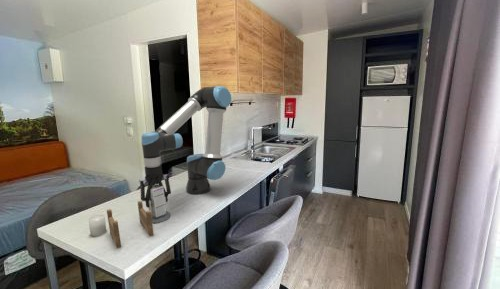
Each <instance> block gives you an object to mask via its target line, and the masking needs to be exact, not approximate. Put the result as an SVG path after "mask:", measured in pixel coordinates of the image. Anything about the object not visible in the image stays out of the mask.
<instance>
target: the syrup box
mask: <svg viewBox="0 0 500 289" xmlns="http://www.w3.org/2000/svg"><path fill="white" fill-rule="evenodd" d="M163 186H164V185H163ZM163 186H160V185H159V184H155V185H153V187H152V189H150V190H151V194H150V198H149V200H150V201H151V207H152V214H151V215H152V216H154V217H159V216H162V215H164V214H166V210H167V209H166V207H167V206H166V207H165V198H164V188H165V187H164V188H163ZM147 188H148V186H147V187H146V189H147Z"/></svg>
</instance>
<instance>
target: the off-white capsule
mask: <svg viewBox="0 0 500 289" xmlns="http://www.w3.org/2000/svg"><path fill="white" fill-rule="evenodd" d="M88 226H89V234H90V236H91V237H101V236H103V235H104V234H106V233H107V224H106V216H105V215H104V214H97V215H93V216H91V217H89V218H88Z"/></svg>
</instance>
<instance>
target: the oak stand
mask: <svg viewBox="0 0 500 289" xmlns="http://www.w3.org/2000/svg"><path fill="white" fill-rule="evenodd" d="M137 206H138V207H137V208H138V216H139V224H140V225H141V227H142V228H143V230H144V231H145V232H146V234H147V235H148V236H149V237H153V236H154V228H153V223H152V217H151V211H150V210H149V209H148V210H145V209H144V205H143V201H142V200H138V201H137ZM106 214H107V220H108V221H107V222H108V229H109V234H110V236H111V239H112V241H113V243H114V245H115V247H116V249H119V248H122V243H121V235H120V228H119V221H118V220H115V218H114V217H113V211H112V209H111V208H109V209H106Z"/></svg>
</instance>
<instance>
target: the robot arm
mask: <svg viewBox="0 0 500 289" xmlns="http://www.w3.org/2000/svg"><path fill="white" fill-rule="evenodd" d="M231 103H232V94H231V92H230V90H229V89H228V88H227V87H225V86H221V85H217V86H204V87H202V88H200V89H199V90H197V91H196V92H195V93H193V94H192V95H191V96H190V97H189V98H188V99H187V102H186V103H185V104H184V105H182V106H181V107H180V108H179V109H178V110H177V111H176V112H174V113H173V114H172V116H171V115H170V117H169V118H168V119H167V120H165V122H163V123H162V124H161V125H160V126H159V127H158V128H157V129H155V131H150V132H144V133H142V134H141V147H142V155H143V165H144V174H145V177H144V178H143V179H139V180H138V182H139V185H140V186H139V187H140V201H142V202H145V207H146V208H148V211H149V210H150V211H151V214H152V207H151V201H150V200H149V198H150V194H151V190H150V189H152V187H153V185H155V184H158V185H160V186H163V188H164V198H165V207H166V210H167V203H168V201H169V199H168V198H169V195H171V194H172V190H171V184H170V175H168V174H167V173H166V174H164V173H163V168H162V158H161V157H162V155H161V152H164V151H170V150H176V149H179V148H181V147H182V146H183V143H184V141H183V137H182V135H181V134H180V133H176V132H177V131H178V130H179V129H180V128H181V127H182V126H183V125H184V124H185V123H186V122H188V120H189V119H190V118H191V117H193V115H195V114H196V113H197V112H200V111H202V109H204V108H205V109H206V111H207V112H208V116H207V128H206V139H205V141H206V143H205V153H197V154H196V153H195V154H190V155H188V156H187V157H186V168H187V183H186V186H185V190H186V193H187V194H189V195H202V194H206V193H208V192H209V191H210V190H211V184H210V181H209V180H213V181H216V180H219V179H221V178H222V177H223V176H224V174H225V173H226V164H225V162H224V161H223V156H222V155H221V147H222V134H223V125H224V124H223V122H224V114H225V113H226V111H227V109H228V107H229V106H230V105H231ZM163 179H164V183H165V187H164V184H163V182H162V180H163ZM146 182H147V187H148V188H147V187H146V188H145V184H146ZM145 189H146V190H145Z"/></svg>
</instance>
